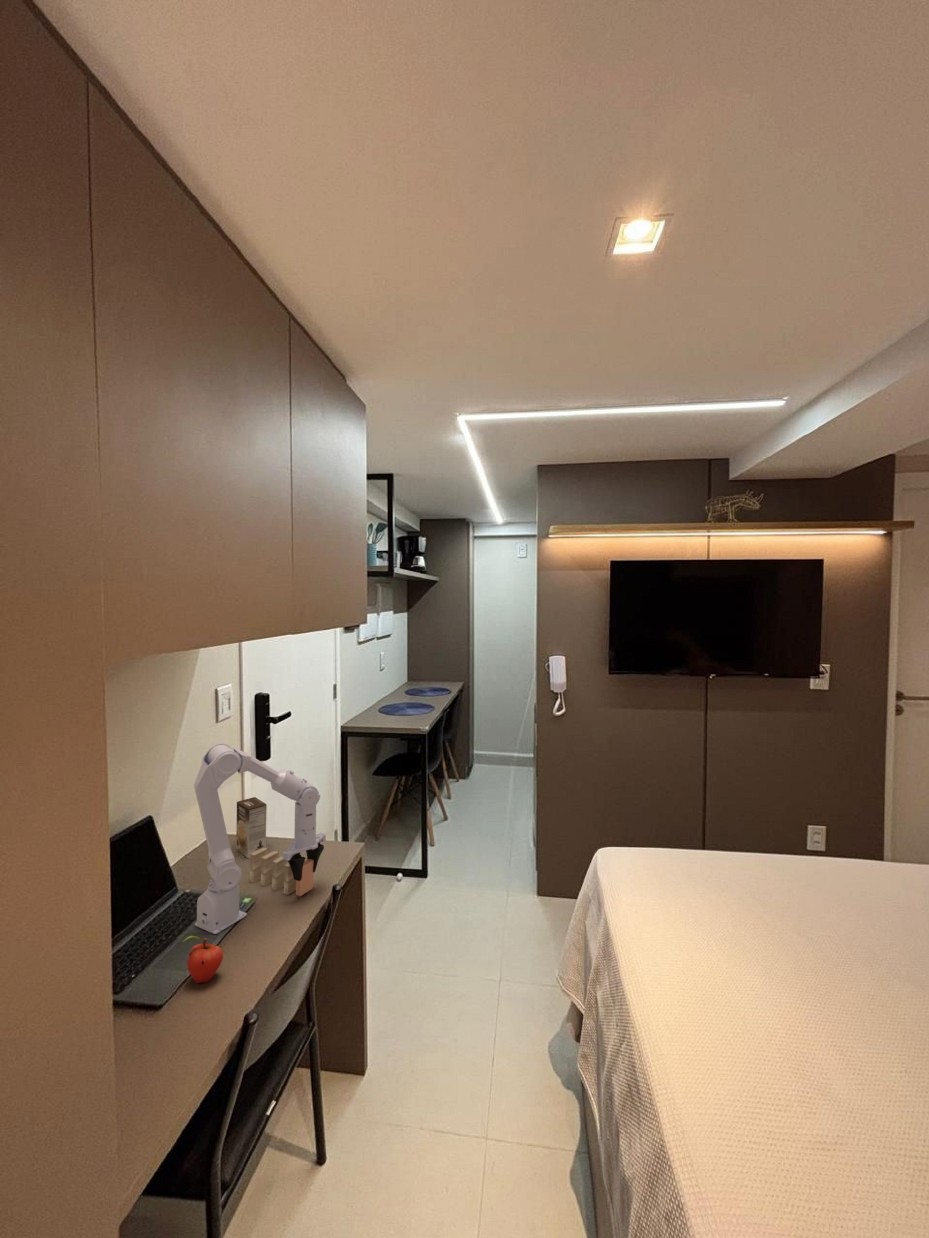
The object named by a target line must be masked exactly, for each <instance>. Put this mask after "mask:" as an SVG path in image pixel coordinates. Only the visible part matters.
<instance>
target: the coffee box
mask: <svg viewBox="0 0 929 1238" xmlns="http://www.w3.org/2000/svg"><path fill="white" fill-rule="evenodd" d="M267 806H268V805H267V803H265V802H264V801H262V800H260V799H259V798H257V797H256V796H254V797H249V798H245V799H242V800H239V801H236V837H235V838H236V841H235V844H236V847H235V850H237V851H238V852H239V853H240V854H241V855H243V856H244V857H245V858H247V859H250V854H251V853H253V852H255V851H257V850H259V849H262V848H267Z"/></svg>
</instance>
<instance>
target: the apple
mask: <svg viewBox="0 0 929 1238" xmlns="http://www.w3.org/2000/svg"><path fill="white" fill-rule="evenodd" d="M192 938H195V939H198V940H199V941H201V942H202V943H198V944H195V945H193V947H191V950H190V951H189V954H188V958H187V963H186V965H187V966H186V967H187V971H188V973H189V974H190V976H191V977H192V979H193V981H194V982H195V983H197V984H201V983H207V982H210V980H211V979H212V978H213V976H215V973H216V972H217V971H218V969H219V968H220V967H221V965H222V961H223V957H224V955H223V954H224V953H223V950H222V948H221V946H218V945H217V944H211V943H208V942H207V941H208V938H203V939H202V938H200V937H199V936H195V935H189V936H187V937H186V938H185V939H184V940H182V941H181V942H185V941H187V940H188V939H189V940H190V939H192Z"/></svg>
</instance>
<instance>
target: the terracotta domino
mask: <svg viewBox="0 0 929 1238" xmlns="http://www.w3.org/2000/svg"><path fill="white" fill-rule="evenodd" d="M313 865H314V860H312V859H308V860H307V859H305V861H304V864H303V869H302V879H301V881H297V880H296V890H295V895H296V896H298V897H301V896H303V895H305V894H306V893H308V892H309V891H310V890H313V889H314V873H313Z"/></svg>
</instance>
